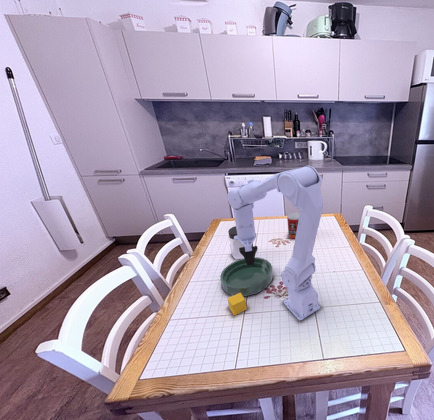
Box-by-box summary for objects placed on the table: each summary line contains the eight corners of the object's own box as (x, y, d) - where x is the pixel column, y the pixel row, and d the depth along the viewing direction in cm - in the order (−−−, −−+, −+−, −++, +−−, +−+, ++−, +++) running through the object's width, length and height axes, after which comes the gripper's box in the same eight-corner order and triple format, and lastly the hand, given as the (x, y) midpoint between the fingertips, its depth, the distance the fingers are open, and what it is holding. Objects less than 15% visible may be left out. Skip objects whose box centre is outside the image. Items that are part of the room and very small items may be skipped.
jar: (255, 255, 101) (252, 230, 96) (236, 262, 96) (232, 236, 92) (247, 246, 107) (244, 223, 103) (229, 252, 102) (225, 228, 98)
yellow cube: (246, 309, 73) (245, 299, 72) (234, 315, 71) (232, 305, 69) (241, 302, 76) (240, 292, 75) (229, 308, 74) (227, 298, 72)
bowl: (281, 282, 85) (280, 273, 84) (232, 305, 75) (231, 296, 73) (260, 260, 97) (259, 252, 96) (215, 278, 87) (213, 269, 85)
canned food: (285, 238, 115) (284, 217, 110) (292, 230, 122) (291, 211, 117) (300, 240, 112) (299, 219, 108) (306, 232, 120) (306, 213, 115)
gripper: (232, 216, 82) (237, 250, 87) (232, 235, 70) (238, 273, 75) (253, 214, 84) (257, 246, 90) (256, 231, 72) (261, 268, 77)
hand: (250, 258), depth 82 cm, fingers open, 7 cm apart
